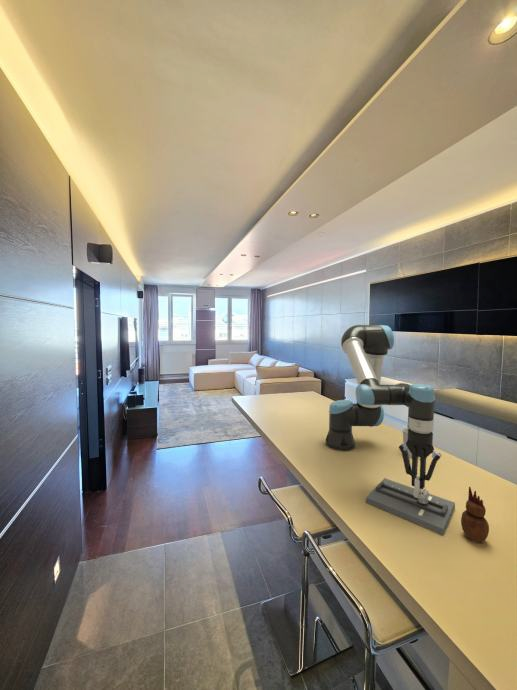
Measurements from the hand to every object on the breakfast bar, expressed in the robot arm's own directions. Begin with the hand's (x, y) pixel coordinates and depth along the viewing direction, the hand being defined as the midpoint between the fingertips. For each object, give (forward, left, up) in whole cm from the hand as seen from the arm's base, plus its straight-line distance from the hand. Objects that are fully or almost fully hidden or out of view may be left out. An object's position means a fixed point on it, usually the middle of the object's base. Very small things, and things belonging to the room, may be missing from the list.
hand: (417, 496), depth 102 cm
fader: (+2, 0, -2) cm, 3 cm away
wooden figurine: (+17, -4, -5) cm, 18 cm away
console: (-2, 0, -4) cm, 5 cm away
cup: (-14, +44, -5) cm, 47 cm away
